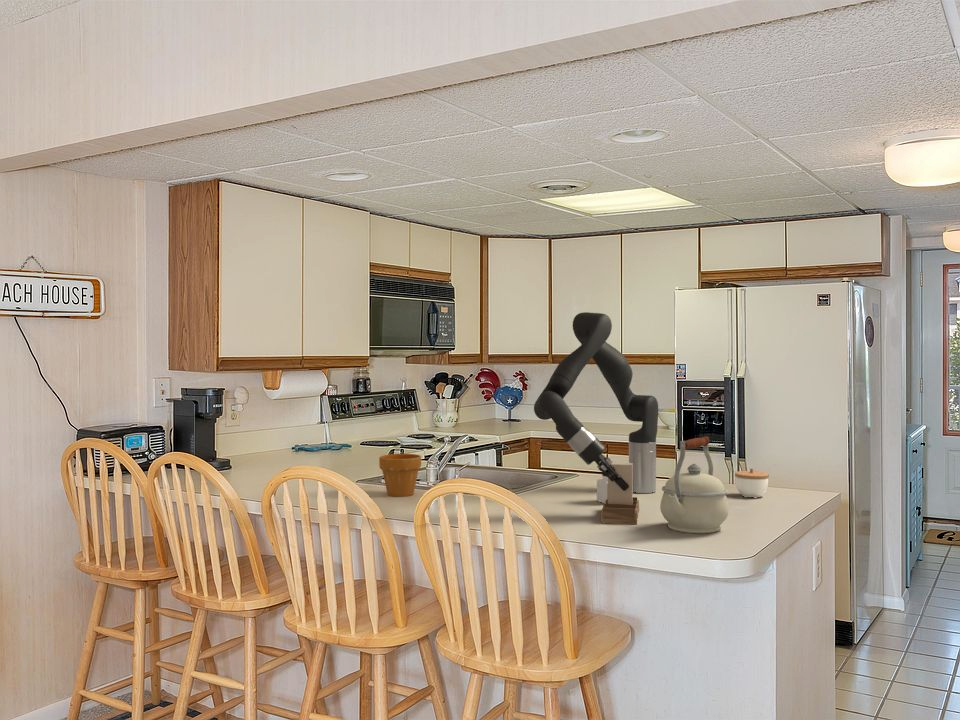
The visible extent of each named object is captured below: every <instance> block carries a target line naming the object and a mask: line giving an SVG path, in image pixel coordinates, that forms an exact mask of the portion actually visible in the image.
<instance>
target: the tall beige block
mask: <svg viewBox="0 0 960 720" xmlns="http://www.w3.org/2000/svg"><path fill="white" fill-rule="evenodd" d="M611 464H612V465H613V467H614V468H615V469H616V472H617V473H618V474H619V475H620V476H621V478H622V479H623V480H624V481H625V482H626V483H627V484H628V485H629V488H628V489H626V490H625V491H623V490H622V489H621V488H620V487H619V486H618V485H617V484H616V483H615V482H612V481H611V480H610V479H609V478H608V504H628V505H632V504H633V497H634V496H633V493H634V492H633V463H629V462H613V463H611ZM611 469H612V467H611ZM613 475H614V474H613V473H612V474H611V476H613Z"/></svg>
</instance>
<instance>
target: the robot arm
mask: <svg viewBox="0 0 960 720" xmlns="http://www.w3.org/2000/svg"><path fill="white" fill-rule="evenodd" d="M612 327H613V325H612V320H611V317H610V316H609V315H607V314H606V313H600V312H586V311H584V312H580V313H578V314H576V315H575V316H574V317H573V320H572V331H573V335H574V336H575V338H576V339H577V341H578V342H579V343H580V345H579V346H578V347H577V348H576V349H575V350H573V351H572V352H570V353H569V354H568V355H567V356H565V358H564V359H562V360H560V362H559V363H558V365H557V366H556V367H555V369H554V372H553V373H552V375H551V376H550V378H549V381H548V383H547V385H546V386H545V387H544V389H543V390H542V392H541V393H540V394H539V396H538V397H537V399H536V401H535V403H534V405H533V411H534V414H535V416H536V417H537V418H538V419H539V420H544V421H545V420H552V421H553V423H554V424H555V431H556V432H557V433H558V435H560V437H561V439H563V440H564V441H565V442H566V443H567V444H568V445H569V446H570V448H571V449H572V450H573V451H574V452H575V454H576V455H577V456H578V457H579V458H580V459H582V461H584V463H585V464H586V465H588V466H589V465H590V466H591V464H592V463H593V462H595V464H596V465H597V466H596V467H597V469H598V470H599V471H600V472H601V473H602V472H603V473H604V474H605V475H606V476H607V477H608V478H609V479H610V480H611V481H612V482H615V483H616V484H617V485H618V486H619V487H620V488H621V489H622V490H623V491H625V490H626V489H628V488H629V485H628V484H627V483H626V482H625V481H624V480H623V479H622V478H621V476H620V475H619V474H618V473H617V472H616V469H615V468H614V467H613V465H612V464H611V463H614V462H613V461H612V460H611V458H609V457H608V456H605V455H604V454H603V453H604V452H605V450H606V446H605V445H604V444H603V443H602V442H601V441H600V440H599V439H598V438H597V437H596V435H594V434H593V433H592V432H591V430H589V429H588V428H587V427H586V426H584V424H582V422H580V420H579V419H578V418H576V416H575V415H574V414H573V412H572V410H571V409H570V407H569V406H568V404H567V403H566V401H565V400H564V398H566V396H567V394H568V393H569V392H570V391H571V389H572V388H573V387H574V384H575V383H576V381H577V379H578V377H579V375H580V374H581V373H582V371H583V370H584V368H585V366H587V364H588V363H589V362H590V361H591V359H592V361H594V363H595V364H596V366H597V368H598V369H599V371H600V372H601V374H602V376H603V377H604V379H605V381H606V382H607V384H608V386H610V388H611V390H612V392H613V394H614V395H615V398H616V399H617V401H618V404H619V406H620V408H621V410H622V412H623V415H624V416H625V417H626V419H627V420H628V421H631V422H637V423H640V422H641V423H642V424H641V428H639V429H637V430H635V431H632V432H630V433H629V434H628V463H633V493H635V492H636V493H637V494H651V493H652V492H653V493H656V491H657V434H658V426H659V425H658V424H659V423H658V421H659V402H658V400H657V398H656V397H655V396H654V395H646V394H645V395H644V394H635V393H633V391H632V389H631V386H630V385H631V383H632V380H633V373H634V372H633V369H632V367H631V365H630V363H629V362H628V360H627V357H625V355H624V354H623V353H622V352H620V351H619V350H618V349H617V348H616V347H614V346H612V345H611V344H610V343H608V342H607V340H608V338H609V337H610V335H611V333H612ZM611 467H612V469H611ZM612 473H613V474H614V475H613V476H611V474H612Z"/></svg>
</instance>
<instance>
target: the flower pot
mask: <svg viewBox="0 0 960 720" xmlns="http://www.w3.org/2000/svg"><path fill="white" fill-rule="evenodd" d="M378 457H379V458H378V461H379V468H380V470H381V472H382V474H383V475H382V476H383V480H384V483H385V484H384V485H385V488H386V492H387V493H386V494H387V496H390V497H396V498H397V497H398V498H399V497H409V496H412V495H414V493H415V490H416V484H417V479H418V474H419V469H420V468H421V467H422V456H421V455H420V454H416V453H390V454H383V455H380V456H378Z"/></svg>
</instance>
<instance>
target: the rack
mask: <svg viewBox="0 0 960 720" xmlns="http://www.w3.org/2000/svg"><path fill="white" fill-rule="evenodd" d="M639 511H640V500H638V496H637V497H636V496H633V504H632V505H628V504H608V496H607V499H606V500H605V503H604V504H603V506H602V508H601V512H600V523H601V522H605V523H604V524H617V523H620V525H621V524H622V525H637V524H638V520H637V519H638V518H639V514H640V513H639ZM638 513H639V514H638Z"/></svg>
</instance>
